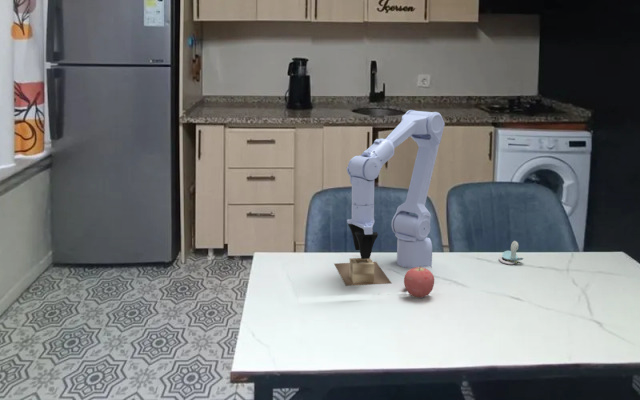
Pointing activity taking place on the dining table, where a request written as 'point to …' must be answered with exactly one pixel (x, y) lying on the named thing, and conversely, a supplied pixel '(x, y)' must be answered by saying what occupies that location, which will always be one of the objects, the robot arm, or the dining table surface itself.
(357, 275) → the open-ended tan box
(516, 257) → the pacifier
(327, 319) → the dining table surface
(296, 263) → the dining table surface
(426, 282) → the apple
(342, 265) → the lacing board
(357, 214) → the robot arm
